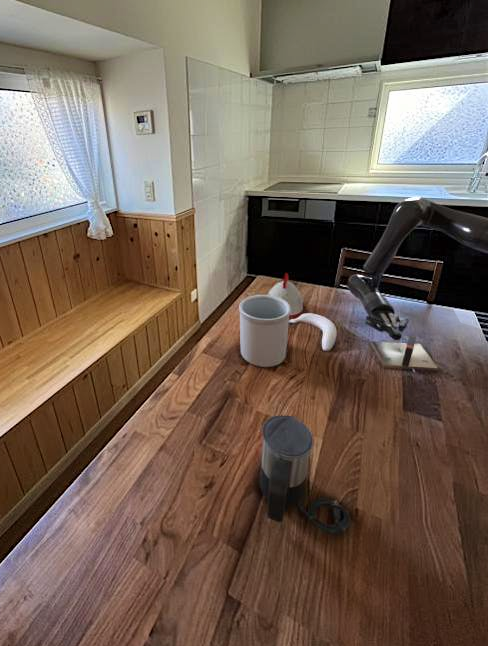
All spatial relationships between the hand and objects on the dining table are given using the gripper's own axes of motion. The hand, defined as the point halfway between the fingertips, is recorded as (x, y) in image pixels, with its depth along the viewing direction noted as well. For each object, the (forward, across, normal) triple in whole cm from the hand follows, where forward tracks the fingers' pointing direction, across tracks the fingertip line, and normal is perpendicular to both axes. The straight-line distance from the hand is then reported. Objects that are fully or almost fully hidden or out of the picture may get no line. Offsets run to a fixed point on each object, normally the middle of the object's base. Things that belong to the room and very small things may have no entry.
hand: (397, 337), depth 98 cm
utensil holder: (+2, -39, +8) cm, 39 cm away
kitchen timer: (-26, -30, +8) cm, 40 cm away
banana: (-10, -22, +8) cm, 25 cm away
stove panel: (+2, +2, +8) cm, 8 cm away
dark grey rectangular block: (+3, +2, +5) cm, 7 cm away
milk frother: (+46, -33, +8) cm, 57 cm away
